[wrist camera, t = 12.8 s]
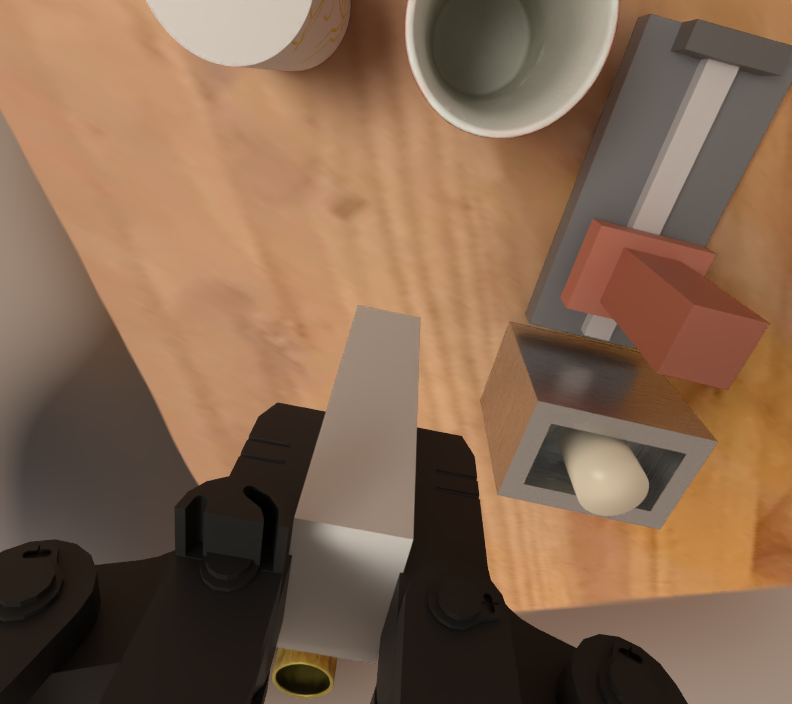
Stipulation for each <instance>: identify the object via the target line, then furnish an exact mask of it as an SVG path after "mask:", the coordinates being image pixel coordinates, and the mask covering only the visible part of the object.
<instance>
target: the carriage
mask: <svg viewBox="0 0 792 704" xmlns="http://www.w3.org/2000/svg"><path fill="white" fill-rule="evenodd" d="M715 256H716V254H715V253H713V252H712V251H710V250H708V249H707V248H705V247H703V246H701V245H697V244H693V243H689V242H685V241H681V240H677V239H673V238H669V237H665V236H661V235H657V234H653V233H649V232H645V231H641V230H637V229H633V228H629V227H625V226H621V225H617V224H614V223H610V222H606V221H602V220H598V219H594V218H593V219H592V221H591V224H590V226H589V229H588V231H587V234H586V236H585V238H584V241H583V243H582V246H581V248H580V251H579V253H578V255H577V258H576V260H575V263H574V265H573V268H572V270H571V272H570V275H569V277H568V280H567V282H566V285H565V287H564V290H563V292H562V294H561V297H560V298H561V300H562V302H563V303H564V305H565V306H566V308H568V309H572V310H576V311H580V312H584V313H589V314H593V315H597V316H601V317H605V318H610V319H614V321H615V322H616V323H617V324H618V326H619V327H620V328H621V329H622V331H623V332H624V333H625V334H626V336H627V337H628V338H629V339H630V341H631V342H632V343H633V344H634V346H635V347H636V348H637V349H638V351H639V352H640V353H641V354H642V356H643V357H644V358H645V359H646V361H647V362H648V363H649V364H650V366H651V367H652V368H653V369H654V371H655V372H656V373H657V374H661V375H666V376H670V377H674V378H679V379H683V380H687V381H691V382H696V383H700V384H704V385H708V386H713V387H717V388H721V389H726V390H728V389H729V387H730V386H731V384H732V383H733V381H734V379H735V378H736V376H737V375H738V373H739V371H740V370H741V368H742V367H743V365H744V364H745V362H746V360H747V359H748V357H749V356H750V354H751V352H752V351H753V349H754V348H755V346H756V345H757V343H758V341H759V340H760V338H761V337H762V335H763V334H764V332H765V330H766V329H767V327H768V326H769V324H770V323H769V322H767V321H766V320H764V319H763V318H762V317H760V316H759V315H757V314H756V313H754V312H753V311H751V310H750V309H749V308H747V307H746V306H744V305H743V304H741V303H740V302H738V301H737V300H736V299H734V298H733V297H731V296H730V295H728V294H727V293H726V292H724V291H723V290H721V289H720V288H718V287H717V286H715V285H714V284H713V283H711V282H710V281H708V280H707V279H705V278H704V277H705V275H706V273H707V271H708V269H709V267H710V265H711V264H712V262H713V260H714V258H715Z"/></svg>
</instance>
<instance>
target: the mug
mask: <svg viewBox="0 0 792 704" xmlns="http://www.w3.org/2000/svg"><path fill="white" fill-rule="evenodd" d="M619 10H620V0H407V5H406V13H405V26H404V29H405V45H406V52H407V57H408V61H409V65H410V68H411V71H412V74H413V77H414V79H415V82H416V84H417V86H418V88H419V90H420V91H421V93H422V95H423V96H424V98H425V99H426V101H427V102H428V103H429V105H430V106H431V107H432V108H433V109H434V110H435V112H436V113H437V114H438V115H439V116H441V117H442V118H443V119H444V120H445V121H447V122H448V123H450V124H451V125H453V126H455V127H457V128H458V129H460V130H462V131H465V132H467V133H470V134H473V135H477V136H481V137H486V138H513V137H519V136H523V135H527V134H530V133H532V132H535V131H538V130H540V129H542V128H545V127H546V126H548V125H550V124H552V123H553V122H555V121H556V120H558V119H559V118H561V117H562V116H564V115H565V114H566V113H567V112H569V111H570V110H571V109H572V108H573V107H574V106H575V105H576V104H577V103H578V102H579V101H580V100H581V99H582V98H583V97H584V96H585V95H586V93H587V92H588V91H589V90H590V89H591V87H592V85H593V83H594V82H595V81H596V79H597V77H598V76H599V74H600V72H601V71H602V69H603V67H604V65H605V62H606V60H607V58H608V56H609V53H610V51H611V48H612V44H613V41H614V38H615V34H616V30H617V25H618V17H619Z"/></svg>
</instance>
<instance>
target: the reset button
mask: <svg viewBox="0 0 792 704" xmlns="http://www.w3.org/2000/svg"><path fill="white" fill-rule="evenodd" d="M559 449H560V452H561V455H562V458H563V461H564V463H565V466H566V469H567V471H568V474H569V477H570V479H571V482H572V485H573V488H574V490H575V493H576V496H577V498H578V501H579V503H580V504H581V506H582V507H583V508H584V509H586V510H587V511H589V512H591V513H593V514H596V515H601V516H614V515H620V514H623V513H626V512H628V511H630V510H632V509H634V508H635V507H637V506H638V505H639V504H640V503H641V502H642V501H643V500H644V499H645V497H646V495H647V493H648V490H649V481H648V478H647V476H646V474H645V473H644V471H643V469H642V467H641V466H640V464H639V462H638V460H637V458H636V457H635V455H634V453H633V451H632V450H631V448H630V446H629V444H628V443H627V441H626V440H623V439H618V438H614V437H609V436H605V435H600V434H596V433H591V432H587V431H582V430H578V429H573V428H569V427H566V428H565V429H564V431H563V432H562V434H561V436H560V438H559Z"/></svg>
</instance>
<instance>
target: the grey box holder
mask: <svg viewBox="0 0 792 704" xmlns="http://www.w3.org/2000/svg"><path fill="white" fill-rule="evenodd" d="M480 401H481V406H482V412H483V418H484V423H485V429H486V434H487V440H488V446H489V451H490V457H491V462H492V468H493V474H494V479H495V485H496V490H497V495H500V496H505V497H509V498H514V499H519V500H524V501H528V502H533V503H538V504H542V505H547V506H552V507H556V508H561V509H566V510H570V511H575V512H580V513H585V514H589V515H594V516H599V517H603V518H608V519H613V520H617V521H622V522H627V523H631V524H636V525H641V526H645V527H650V528H655V529H661V527H662V526H663V524H664V523H665V521H666V520H667V518H668V517H669V515H670V514H671V512H672V511H673V509H674V508H675V506H676V505H677V503H678V502H679V500H680V499H681V497H682V495H683V494H684V492H685V491H686V489H687V488H688V486H689V485H690V483H691V482H692V480H693V479H694V477H695V476H696V474H697V473H698V471H699V470H700V468H701V467H702V465H703V464H704V462H705V461H706V459H707V458H708V456H709V455H710V453H711V451H712V450H713V448H714V447H715V445H716V444H717V442H718V441H717V440H716V439H715V437H714V436H713V435H712V434H711V432H710V431H709V430H708V429H707V428H706V426H705V425H704V424H703V423H702V421H701V420H700V419H699V418H698V417H697V415H696V414H695V413H694V412H693V411H692V409H691V408H690V407H689V406H688V404H687V403H686V402H685V401H684V400H683V398H682V397H681V396H680V395H679V393H678V392H677V391H676V390H675V389H674V387H673V386H672V385H671V384H670V382H669V381H668V380H667V379H666V378H665V376H664V375H661V374H657V373H656V372H655V371H654V369H653V368H652V367H651V366H650V364H649V363H648V362H647V361H646V359H645V358H644V357H643V356H642V354H641V353H640V352H636V351H631V350H627V349H623V348H619V347H614V346H610V345H606V344H602V343H597V342H593V341H589V340H585V339H581V338H576V337H572V336H568V335H564V334H559V333H555V332H551V331H547V330H542V329H538V328H534V327H530V326H525V325H521V324H517V323H513V322H509V325H508V327H507V330H506V333H505V336H504V338H503V341H502V344H501V346H500V349H499V352H498V354H497V357H496V360H495V363H494V365H493V368H492V371H491V373H490V376H489V379H488V381H487V384H486V387H485V390H484V392H483V395H482V398H481V400H480ZM566 427H569V428H573V429H578V430H582V431H587V432H591V433H596V434H600V435H605V436H609V437H614V438H618V439H623V440H626V441H627V443H628V444H629V446H630V448H631V450H632V451H633V453H634V455H635V457H636V458H637V460H638V462H639V464H640V466H641V467H642V469H643V471H644V473H645V474H646V476H647V478H648V481H649V490H648V493H647V495H646V497H645V499H644V500H643V501H642V502H641V503H640V504H639V505H638V506H637V507H635V508H634V509H632V510H630V511H628V512H626V513H623V514H620V515H614V516H601V515H596V514H593V513H591V512H589V511H587V510H586V509H584V508H583V507H582V506H581V504H580V503H579V501H578V498H577V496H576V493H575V490H574V488H573V485H572V482H571V479H570V477H569V474H568V471H567V469H566V466H565V463H564V461H563V458H562V455H561V452H560V449H559V438H560V436H561V434H562V432H563V431H564V429H565V428H566Z"/></svg>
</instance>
